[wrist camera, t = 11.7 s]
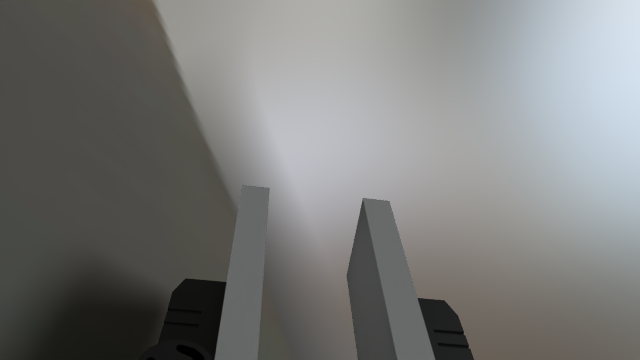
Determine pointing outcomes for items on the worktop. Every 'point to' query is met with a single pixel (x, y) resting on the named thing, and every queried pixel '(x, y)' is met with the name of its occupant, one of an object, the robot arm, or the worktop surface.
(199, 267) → the worktop surface
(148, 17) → the worktop surface
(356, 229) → the robot arm
